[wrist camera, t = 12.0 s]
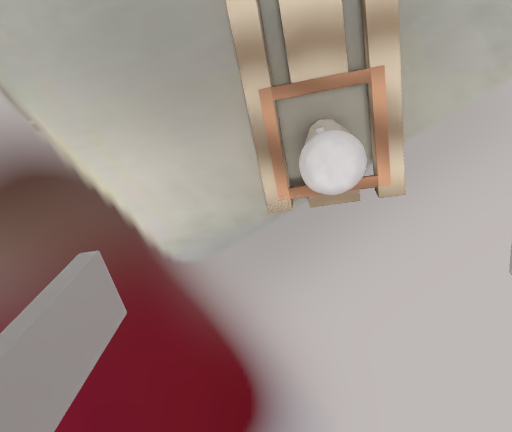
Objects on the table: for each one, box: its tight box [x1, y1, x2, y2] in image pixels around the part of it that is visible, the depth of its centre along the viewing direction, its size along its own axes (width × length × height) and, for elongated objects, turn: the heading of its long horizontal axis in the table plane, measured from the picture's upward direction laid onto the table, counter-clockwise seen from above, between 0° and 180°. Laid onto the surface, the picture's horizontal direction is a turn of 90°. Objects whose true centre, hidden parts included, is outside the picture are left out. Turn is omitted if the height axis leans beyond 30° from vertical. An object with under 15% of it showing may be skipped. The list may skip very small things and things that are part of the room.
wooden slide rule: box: [226, 0, 405, 213], centre depth 29 cm, size 28×12×2 cm, turn 11°
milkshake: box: [299, 119, 367, 195], centre depth 28 cm, size 4×5×10 cm
